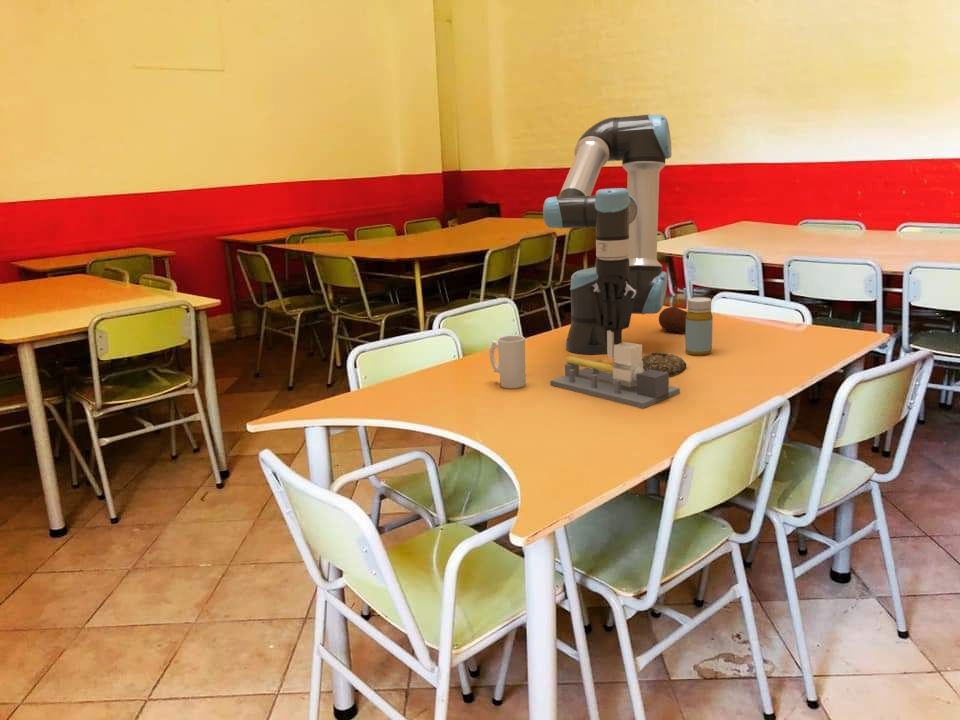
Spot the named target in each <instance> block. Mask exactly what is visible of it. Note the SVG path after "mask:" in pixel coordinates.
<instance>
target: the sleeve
mask: <svg viewBox="0 0 960 720" xmlns="http://www.w3.org/2000/svg"><path fill="white" fill-rule="evenodd" d="M642 358H643V344H639V343H634V342H627V341H623V342H621V343H619V344H616V345H614V358H613V362H612V365H613V373H612V374H613V383H614V384H615V380H621V385H622V386H627V387H633V386H635V385H637V382H636V381H634V380H633V378H632V373H633V370H634V369H635V368H636V367H641V368H643V361H642Z"/></svg>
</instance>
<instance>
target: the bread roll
mask: <svg viewBox="0 0 960 720" xmlns="http://www.w3.org/2000/svg"><path fill="white" fill-rule="evenodd" d="M642 361H643V369H644V371H647V370H649V369H652V370H657V371H662V372H667V373H669V377H673V376H675V375H678V374H680V373H682V371H683V370H685V369H686V368H687V363H686V361H684V359H683V357H680V356H678V355H675V354H673V353H669V352H660V351H653V352H651V353H648V354H646V355H644V356H642Z"/></svg>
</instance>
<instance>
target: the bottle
mask: <svg viewBox="0 0 960 720" xmlns="http://www.w3.org/2000/svg"><path fill="white" fill-rule="evenodd" d="M686 312H687V315H686V333H685V336H684V337H685V341H684V344H685V347H684V349H685V353H687V355H690V356H695V355H700V356H699V357H701V356H708V355H710V354H711V353H712V351H713V349H712V348H713V321H714V320H713V319H714V318H713V316H714V315H713V314H712V299H711V298H710V297H690V298H687V311H686Z"/></svg>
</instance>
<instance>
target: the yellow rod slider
mask: <svg viewBox="0 0 960 720" xmlns="http://www.w3.org/2000/svg"><path fill="white" fill-rule="evenodd" d="M565 360H566V361H565V362H566V363H565V364H564V375H562V376H559V377H557V378H553V379H551V380H550V381H549V382H550V383H549V384H550V386H552V387H556V388H560V389H564V390H569V391H573V392H575V393H580V394H583V395H588V396H592V397H595V398H600V399H603V400H608V401H612V402H617V403H620V404H624V405H628V406H632V407H637V408H640V409H643V410H644V409H645V408H647V407H650V406H652V405H655V404H658V403H660V402H662V401H664V400H667V399H670V398H671V397H674V396H676V395H679V394H680V393H681V392H680V391H681V389H680V387H675V386H671V385H669V382H670V379H669V377H670V376H669V373H667V372H662V371H657V370H652V369H649V370H647V371H644V369H643V368H641V367H636V368H635V369H634V370H633V373H632V378H633V380H634V381H636V382H637V385H635V386H633V387H627V386H622V385H621V380H615V384H614V383H613V364H608V363H603V362H599V361H594V360H590V359H585V358H580V357H575V356H570V355H568V356H567V357H566V359H565ZM580 367H584V368H582V369H579V368H580Z"/></svg>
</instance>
